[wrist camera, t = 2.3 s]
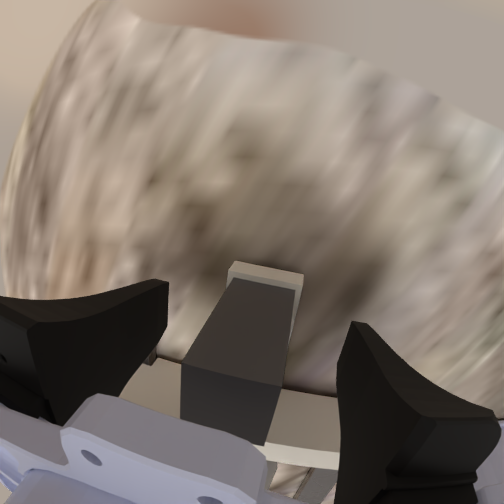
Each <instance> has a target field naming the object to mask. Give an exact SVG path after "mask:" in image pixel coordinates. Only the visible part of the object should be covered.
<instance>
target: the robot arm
mask: <svg viewBox="0 0 504 504" xmlns="http://www.w3.org/2000/svg"><path fill="white" fill-rule="evenodd" d="M168 295H169V282H166V281H162V280H158V279H151V280H147V281H143V282H139V283H136V284H132V285H129V286H126V287H122V288H119V289H115V290H111V291H107V292H104V293H100V294H95V295H91V296H85V297H79V298H71V299H57V300H29V299H18V298H11V297H3V296H0V482H1V483H2V484H3V485H4V486H5V487H6V488H8V489H9V490H10V491H11V492H12V494H11V495H10V497H9V498H8V499H7V501H6V502H5V503H4V504H310V503H307V502H303V501H300V500H296V499H293V498H290V497H287V496H284V495H281V494H278V493H275V492H272V491H269V490H266V489H264V487H265V482H266V477H267V472H268V468H267V461H266V456H265V455H264V454H262V453H261V452H260V451H259V450H258V449H257V448H256V447H255V446H253V445H252V444H251V443H250V442H249V441H248V440H245V439H242V438H240V437H237V436H235V435H232V434H230V433H228V432H225V431H221V430H217V429H214V428H210V427H206V426H203V425H199V424H195V423H192V422H189V421H185V420H182V419H179V418H176V417H173V416H169V415H166V414H163V413H160V412H157V411H155V410H152V409H149V408H146V407H143V406H141V405H138V404H135V403H132V402H130V401H127V400H125V399H122V398H119V396H120V394H121V392H122V391H123V389H124V387H125V386H126V384H127V383H128V381H129V380H130V379H131V377H132V376H133V375H134V373H135V372H136V371H137V370H138V368H139V367H140V366H141V365H142V363H143V362H144V361H145V359H146V358H147V357H148V356H149V354H150V353H151V352H152V350H153V349H154V348H155V347H156V345H157V344H158V342H159V340H160V339H161V337H162V335H163V333H164V331H165V329H166V328H167V322H168ZM336 388H337V399H338V409H339V420H340V437H341V439H340V456H339V467H338V477H337V485H336V492H335V499H334V504H504V420H502V421H498V420H497V418H496V416H495V414H494V412H493V410H490V409H488V408H485V407H482V406H479V405H476V404H473V403H470V402H468V401H466V400H464V399H461V398H459V397H457V396H455V395H453V394H451V393H449V392H447V391H445V390H444V389H442V388H440V387H439V386H437V385H435V384H434V383H432V382H431V381H429V380H428V379H426V378H425V377H424V376H422V375H421V374H420V373H418V372H417V371H416V370H414V369H413V368H412V367H411V366H409V365H408V364H407V363H406V362H405V361H404V360H403V359H402V358H401V357H400V356H399V355H398V354H396V353H395V352H394V351H393V350H392V349H391V347H390V346H389V345H388V344H387V343H386V342H385V341H384V340H383V339H382V338H381V337H380V336H379V335H378V334H377V333H376V332H375V331H374V330H373V329H372V328H371V327H370V326H369V325H368V324H367V323H362V322H356V321H352V322H351V325H350V328H349V331H348V334H347V337H346V340H345V343H344V346H343V348H342V351H341V354H340V357H339V360H338V362H337V376H336Z"/></svg>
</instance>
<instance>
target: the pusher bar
mask: <svg viewBox="0 0 504 504" xmlns="http://www.w3.org/2000/svg"><path fill="white" fill-rule="evenodd" d="M303 278H304V274H299V273H294V272H289V271H284V270H279V269H274V268H269V267H264V266H259V265H254V264H249V263H244V262H240V261H234V263H233V264H232V266H231V267H230V268H229V270H228V277H227V284H226V290H225V292H224V294H223V295H222V297H221V299H220V300H219V302H218V303H217V305H216V307H215V308H214V310H213V312H212V313H211V315H210V316H209V318H208V320H207V321H206V323H205V325H204V326H203V328H202V330H201V331H200V333H199V334H198V336H197V338H196V339H195V341H194V343H193V344H192V346H191V347H190V349H189V351H188V352H187V354H186V356H185V357H184V359H183V361H182V362H181V364H178V363H174V362H171V361H168V360H164V359H161V358H157V359H156V361H155V362H154V363H153V365H152V366H149V365H146V364H143V363H142V365H141V366H140V367H139V368H138V370H137V371H136V372H135V373H134V375H133V376H132V377H131V379H130V380H129V381H128V383H127V384H126V386H125V387H124V389H123V391H122V392H121V394H120V396H119V398H122V399H125V400H127V401H130V402H132V403H135V404H138V405H141V406H143V407H146V408H149V409H152V410H155V411H157V412H160V413H163V414H166V415H169V416H173V417H176V418H179V419H182V420H185V421H189V422H192V423H195V424H199V425H203V426H206V427H210V428H214V429H217V430H221V431H225V432H228V433H230V434H232V435H235V436H237V437H240V438H242V439H245V440H248V441H249V442H250V443H251V444H252V445H253V446H255V447H256V448H257V449H258V450H259V451H260V452H261V453H262V454H264V455H265V456H266V460H268V461H274V462H280V463H286V464H292V465H299V466H306V467H314V468H323V469H333V470H338V467H339V456H340V439H341V437H340V420H339V409H338V399H337V398H333V397H327V396H320V395H314V394H308V393H302V392H296V391H291V390H285V389H282V384H283V378H284V371H285V364H286V357H287V351H288V345H289V341H290V337H291V333H292V329H293V325H294V321H295V317H296V313H297V309H298V305H299V301H300V296H301V292H302V288H303Z"/></svg>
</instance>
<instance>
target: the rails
mask: <svg viewBox="0 0 504 504" xmlns="http://www.w3.org/2000/svg"><path fill="white" fill-rule="evenodd" d="M155 361H156V347H155V348H154V349H153V350H152V352H151V353H150V354H149V356H148V357H147V358H146V359H145V361H144V362H143V364H146V365H149V366H152V365H153V363H154V362H155ZM337 477H338V470H333V469H323V468H314V467H311V468H310V470H309V472H308V474H307V475H306V477H305V479H304V481H303V482H302V484H301V486H300V488H299V489H298V491H297V493H296V494H295V496H294V498H293V499H296V500H300V501H303V502H307V503H310V504H321V502H322V501H323V500H324V498H325V497H326V496H327V494H328V493H329V492H330V490H331V489H332V488H333V486H334V485H335V483H336V482H337Z"/></svg>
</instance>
